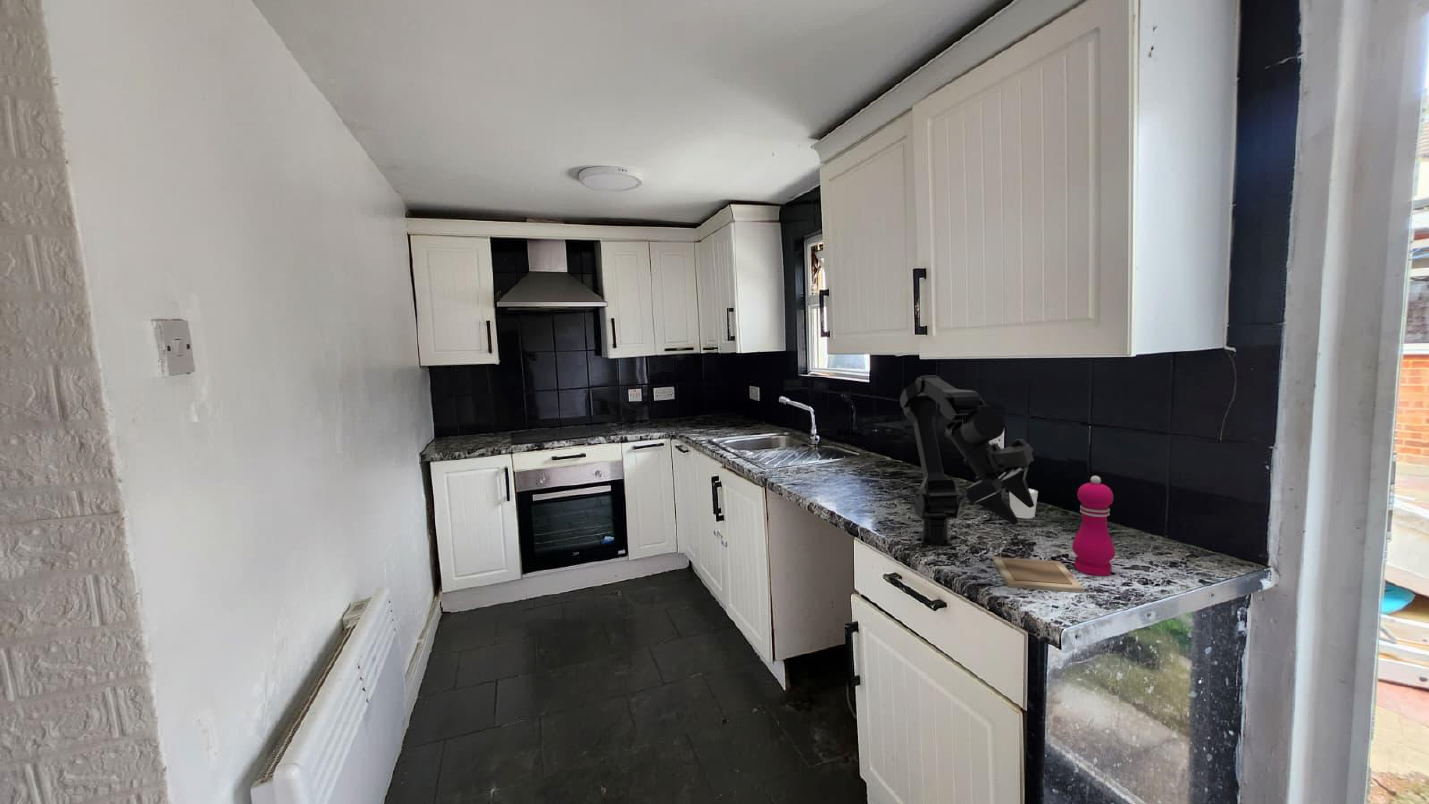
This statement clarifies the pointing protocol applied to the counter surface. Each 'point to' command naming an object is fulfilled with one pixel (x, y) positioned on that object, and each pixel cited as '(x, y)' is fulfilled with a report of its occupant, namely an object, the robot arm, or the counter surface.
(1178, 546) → the counter surface
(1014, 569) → the beech tray
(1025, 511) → the white cup
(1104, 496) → the pepper mill
